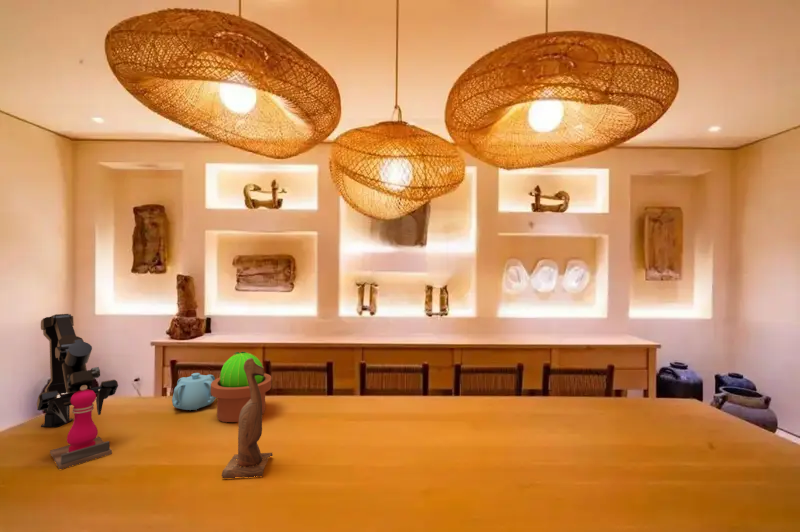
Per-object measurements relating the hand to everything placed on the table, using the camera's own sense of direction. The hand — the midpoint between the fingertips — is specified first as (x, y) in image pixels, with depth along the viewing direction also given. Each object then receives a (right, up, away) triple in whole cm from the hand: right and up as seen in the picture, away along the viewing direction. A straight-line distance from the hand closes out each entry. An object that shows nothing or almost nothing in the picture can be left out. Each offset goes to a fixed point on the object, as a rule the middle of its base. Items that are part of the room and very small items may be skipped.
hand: (83, 418), depth 112 cm
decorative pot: (+11, -12, +42) cm, 45 cm away
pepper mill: (-1, -11, +1) cm, 11 cm away
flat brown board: (-2, -12, +2) cm, 12 cm away
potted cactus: (+34, -13, +34) cm, 49 cm away
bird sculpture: (+52, -13, -5) cm, 54 cm away
